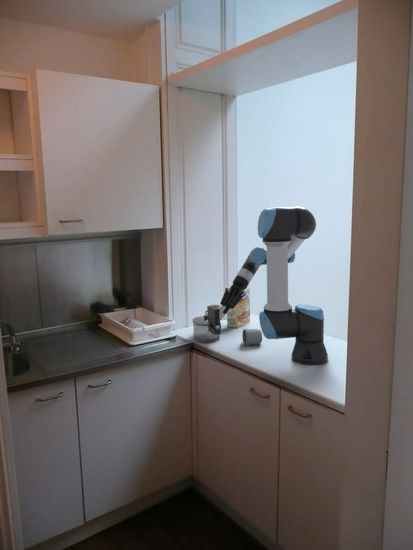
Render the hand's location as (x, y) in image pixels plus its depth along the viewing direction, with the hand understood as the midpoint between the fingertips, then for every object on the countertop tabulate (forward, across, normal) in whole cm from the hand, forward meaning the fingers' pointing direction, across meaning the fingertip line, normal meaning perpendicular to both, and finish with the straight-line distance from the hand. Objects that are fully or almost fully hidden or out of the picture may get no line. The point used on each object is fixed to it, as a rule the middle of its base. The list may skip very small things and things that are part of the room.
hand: (218, 318), depth 218 cm
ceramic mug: (+2, -11, -16) cm, 20 cm away
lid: (+3, +7, -2) cm, 7 cm away
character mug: (-1, +20, -19) cm, 27 cm away
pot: (+9, +8, -8) cm, 15 cm away
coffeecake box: (-12, +18, -30) cm, 38 cm away
